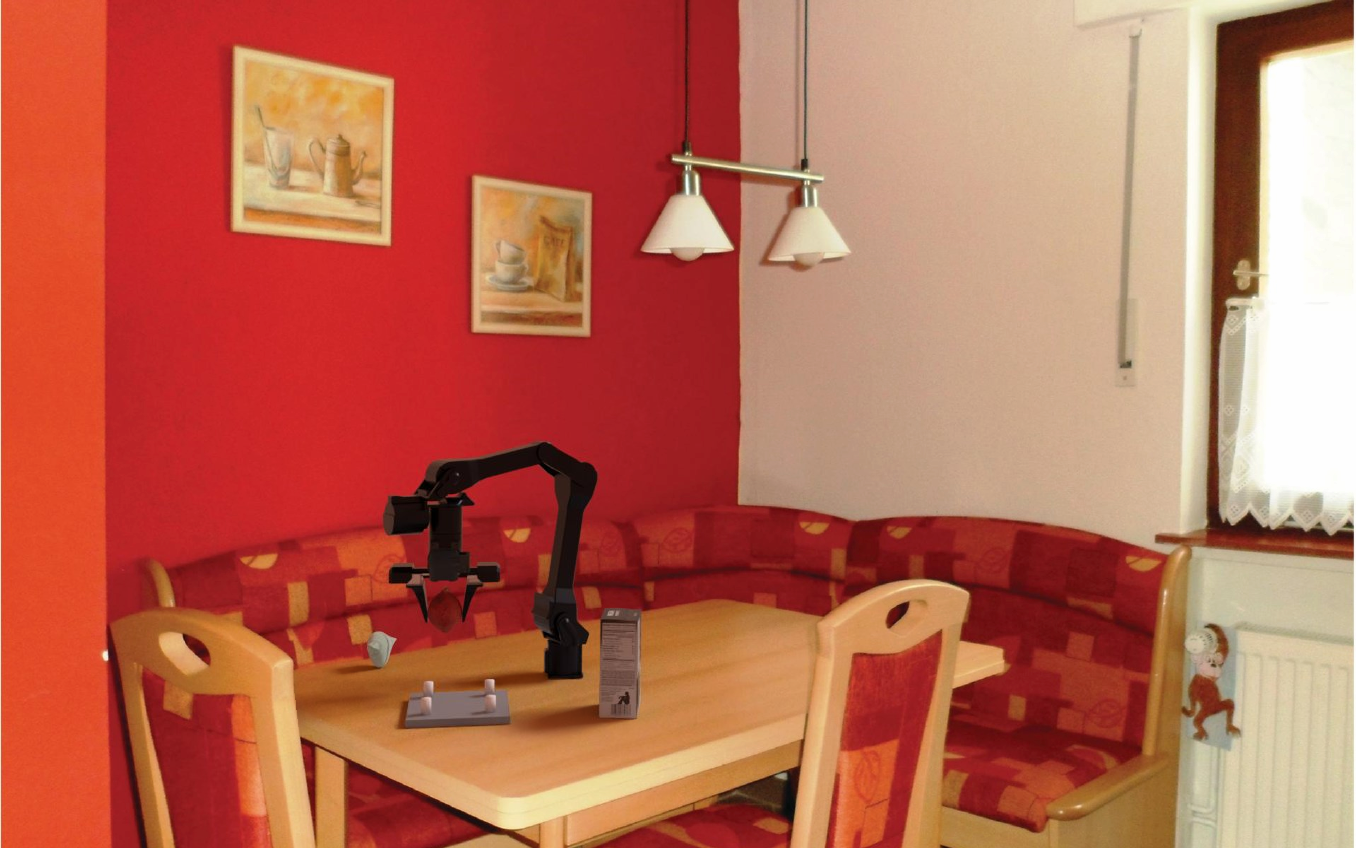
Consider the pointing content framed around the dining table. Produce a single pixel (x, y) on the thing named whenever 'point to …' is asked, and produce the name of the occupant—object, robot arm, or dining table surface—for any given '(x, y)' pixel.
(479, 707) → the plate
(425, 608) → the robot arm
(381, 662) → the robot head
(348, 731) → the dining table surface
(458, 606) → the onion
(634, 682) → the coffee box
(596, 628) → the dining table surface
